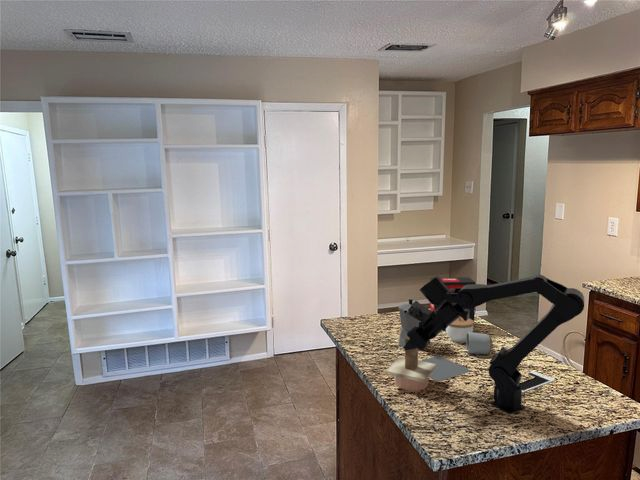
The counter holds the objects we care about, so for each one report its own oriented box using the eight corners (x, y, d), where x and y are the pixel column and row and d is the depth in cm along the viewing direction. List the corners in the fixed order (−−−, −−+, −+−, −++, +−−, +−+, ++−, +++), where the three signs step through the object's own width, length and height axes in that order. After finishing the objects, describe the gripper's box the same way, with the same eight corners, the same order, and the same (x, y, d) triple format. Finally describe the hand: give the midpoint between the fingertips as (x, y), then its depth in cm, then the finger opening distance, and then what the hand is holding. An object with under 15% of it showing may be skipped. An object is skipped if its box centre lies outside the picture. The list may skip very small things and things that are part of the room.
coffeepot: (416, 353, 162) (417, 305, 160) (392, 349, 167) (392, 302, 165) (428, 339, 176) (429, 295, 173) (405, 336, 180) (406, 292, 178)
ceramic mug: (492, 358, 157) (493, 336, 156) (468, 356, 158) (469, 335, 158) (486, 347, 168) (487, 327, 167) (463, 346, 169) (464, 326, 168)
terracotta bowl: (434, 386, 136) (435, 372, 136) (409, 395, 132) (409, 380, 131) (413, 374, 145) (413, 361, 144) (388, 381, 140) (388, 368, 140)
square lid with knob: (436, 367, 140) (436, 334, 138) (424, 382, 130) (425, 347, 128) (399, 359, 146) (399, 328, 144) (385, 374, 136) (385, 340, 134)
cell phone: (555, 381, 139) (555, 379, 139) (521, 394, 132) (521, 392, 132) (533, 372, 146) (533, 370, 146) (499, 384, 138) (499, 382, 138)
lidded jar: (475, 345, 169) (476, 321, 168) (446, 344, 171) (446, 320, 170) (470, 335, 180) (471, 312, 178) (443, 334, 181) (443, 312, 180)
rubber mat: (471, 372, 146) (471, 370, 146) (437, 383, 139) (437, 381, 139) (439, 356, 159) (439, 355, 159) (406, 365, 152) (406, 364, 152)
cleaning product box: (467, 322, 196) (469, 277, 193) (473, 328, 187) (475, 282, 185) (429, 322, 197) (430, 277, 194) (434, 329, 188) (435, 282, 185)
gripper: (434, 288, 140) (400, 317, 147) (414, 303, 124) (377, 334, 132) (459, 316, 137) (423, 344, 144) (441, 334, 121) (402, 365, 129)
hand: (407, 346), depth 137 cm, fingers open, 4 cm apart
